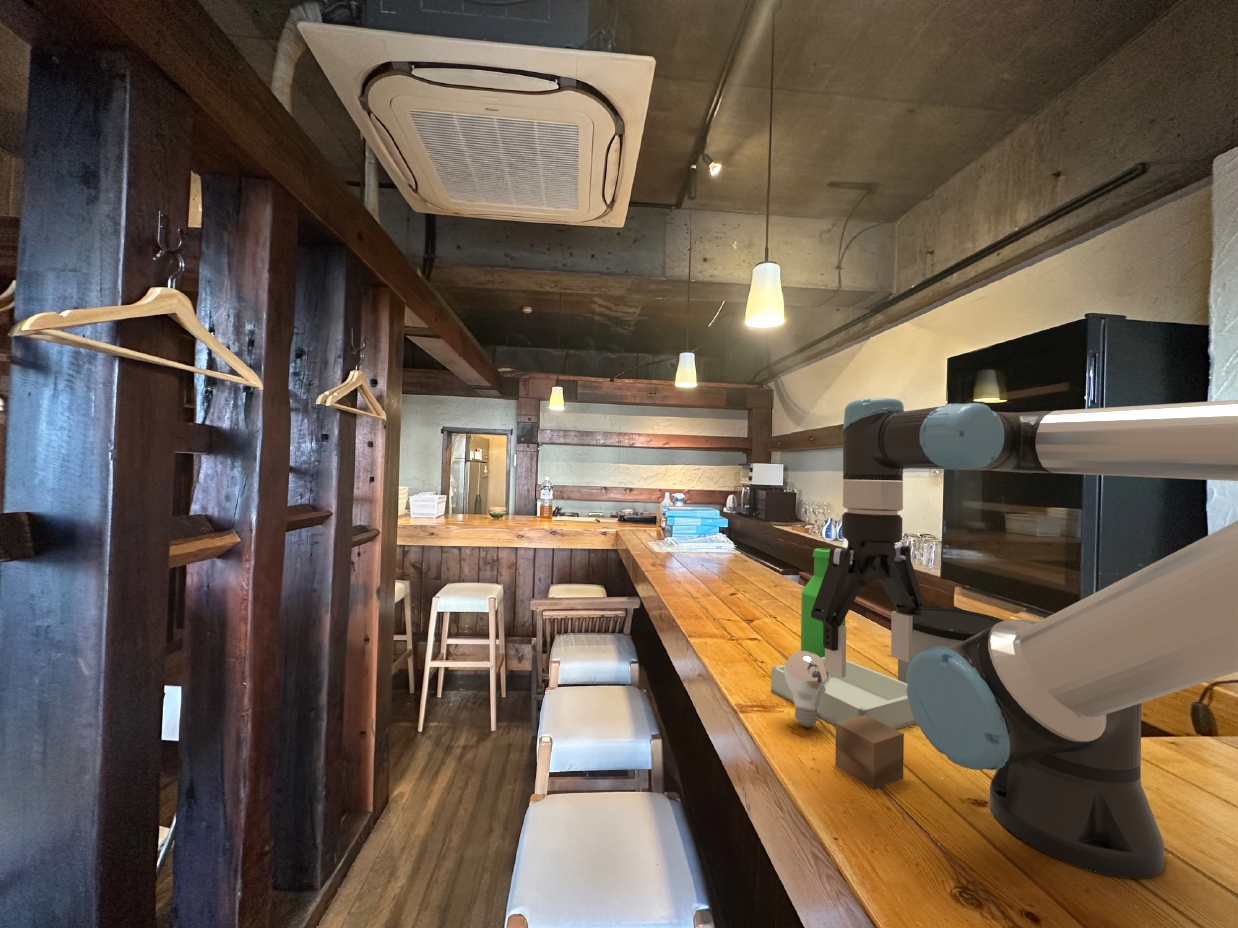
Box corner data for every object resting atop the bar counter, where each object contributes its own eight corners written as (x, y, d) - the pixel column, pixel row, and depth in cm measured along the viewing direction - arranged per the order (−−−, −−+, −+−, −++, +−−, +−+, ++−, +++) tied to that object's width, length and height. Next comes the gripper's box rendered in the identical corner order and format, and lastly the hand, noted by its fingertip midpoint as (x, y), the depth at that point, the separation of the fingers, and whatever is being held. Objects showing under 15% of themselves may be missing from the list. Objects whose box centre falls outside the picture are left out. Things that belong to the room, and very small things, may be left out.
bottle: (848, 665, 112) (849, 549, 112) (840, 678, 105) (842, 553, 105) (805, 656, 117) (807, 545, 117) (795, 668, 109) (797, 549, 110)
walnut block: (903, 778, 70) (903, 733, 70) (873, 789, 67) (874, 743, 67) (864, 756, 75) (864, 714, 75) (835, 766, 73) (835, 722, 73)
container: (988, 736, 82) (989, 640, 82) (875, 692, 98) (876, 612, 98) (1037, 709, 92) (1038, 624, 93) (927, 673, 108) (928, 601, 108)
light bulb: (835, 726, 84) (837, 652, 84) (818, 742, 79) (819, 662, 79) (794, 712, 89) (795, 641, 89) (775, 726, 84) (776, 651, 84)
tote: (929, 719, 87) (929, 692, 87) (862, 740, 80) (862, 710, 80) (833, 677, 105) (833, 654, 105) (771, 691, 97) (771, 667, 97)
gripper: (903, 509, 81) (902, 646, 81) (784, 510, 70) (782, 670, 69) (953, 512, 74) (951, 662, 74) (830, 515, 63) (827, 691, 63)
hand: (869, 666), depth 72 cm, fingers open, 13 cm apart
